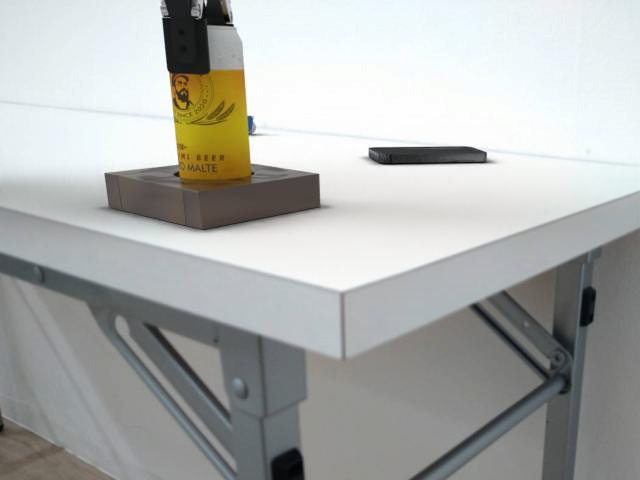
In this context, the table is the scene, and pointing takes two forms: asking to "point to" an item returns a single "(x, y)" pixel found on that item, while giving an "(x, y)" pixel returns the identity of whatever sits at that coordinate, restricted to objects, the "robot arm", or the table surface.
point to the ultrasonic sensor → (251, 125)
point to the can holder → (212, 195)
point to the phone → (427, 154)
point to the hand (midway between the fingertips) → (204, 72)
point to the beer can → (213, 113)
